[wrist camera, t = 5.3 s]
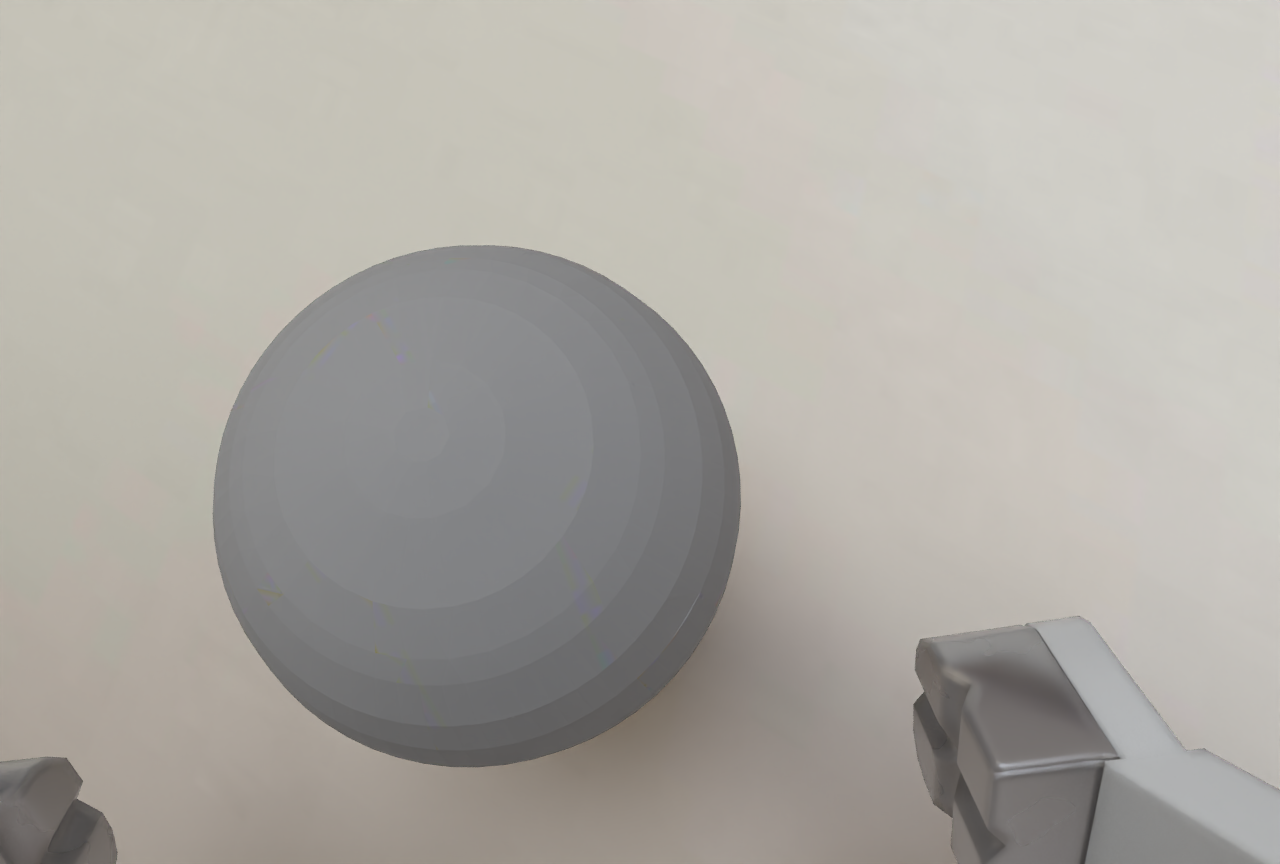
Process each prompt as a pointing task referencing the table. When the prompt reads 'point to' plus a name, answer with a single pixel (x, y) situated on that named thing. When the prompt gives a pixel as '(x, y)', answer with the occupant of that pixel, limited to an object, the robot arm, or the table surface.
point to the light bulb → (476, 505)
